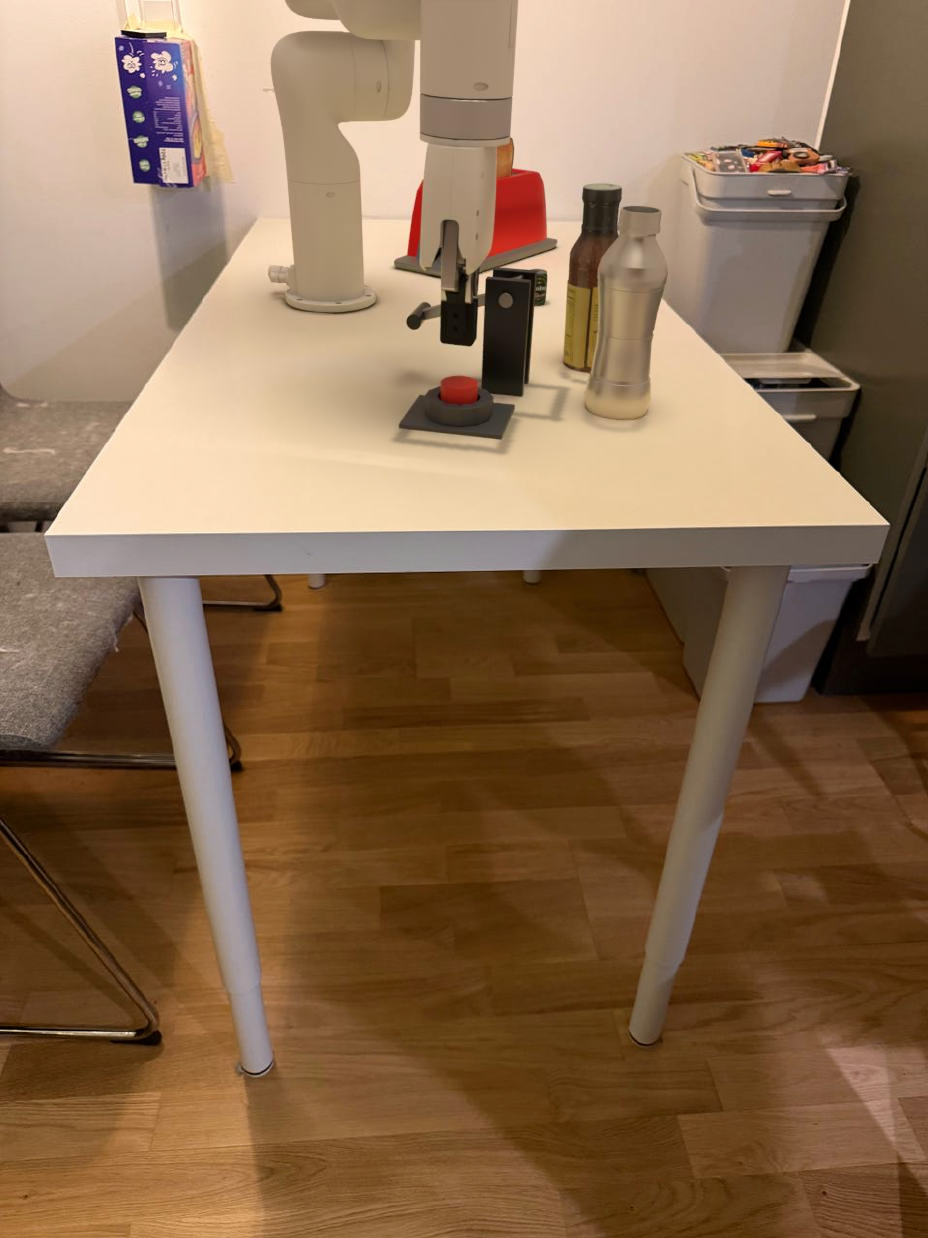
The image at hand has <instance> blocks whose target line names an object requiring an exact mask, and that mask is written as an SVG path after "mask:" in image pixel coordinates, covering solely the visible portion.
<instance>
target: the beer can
mask: <svg viewBox="0 0 928 1238" xmlns="http://www.w3.org/2000/svg"><path fill="white" fill-rule="evenodd" d="M530 270H536V271H537V276H536V290H535V304H534V306H542V305H545V303H546V299H547V290H548V289H547V288H548V271H547V270H546V269H542V268H531V269H530Z"/></svg>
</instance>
